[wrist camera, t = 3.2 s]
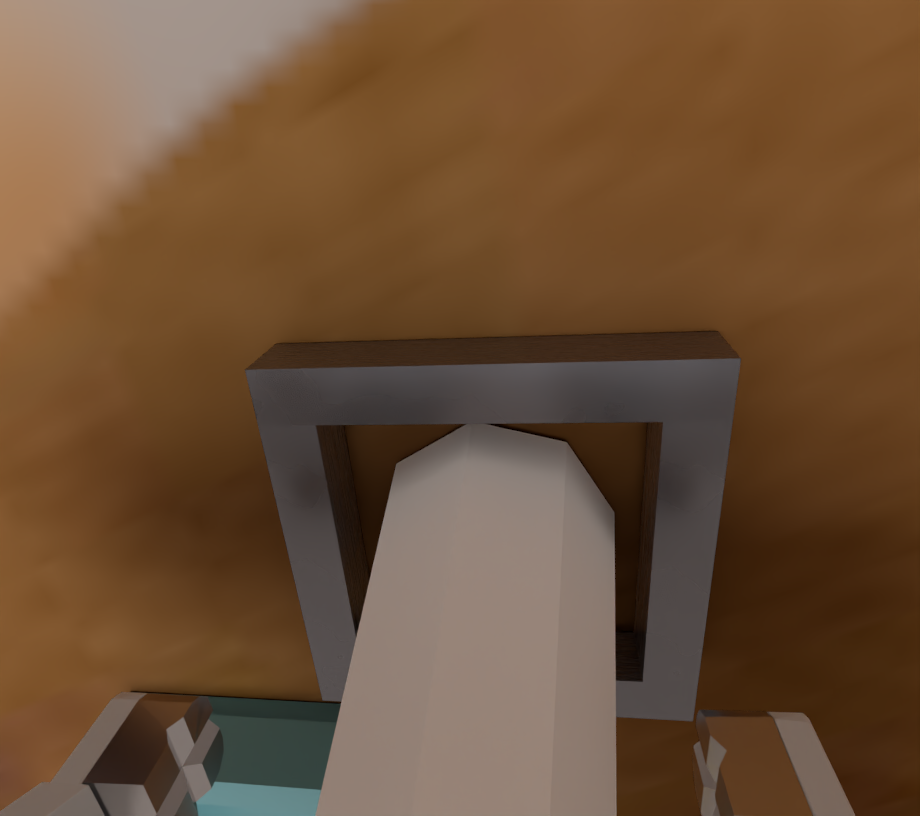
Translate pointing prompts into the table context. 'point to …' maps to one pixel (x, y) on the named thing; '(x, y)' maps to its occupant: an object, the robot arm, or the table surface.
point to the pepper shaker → (483, 640)
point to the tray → (269, 757)
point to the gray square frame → (501, 402)
